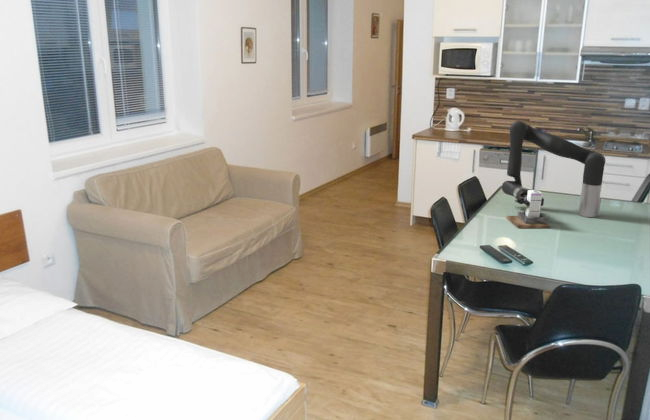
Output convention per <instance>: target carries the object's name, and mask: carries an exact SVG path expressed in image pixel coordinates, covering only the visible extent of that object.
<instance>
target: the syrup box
mask: <svg viewBox="0 0 650 420" xmlns="http://www.w3.org/2000/svg"><path fill="white" fill-rule="evenodd" d="M542 198H543V192H542V191H540V190H538V189H528V193H527V200H528V201H529V202H530V206H527V205H525V211H524V212H525V215H526V216H527V217H540V213H541V207H542V206H541V199H542Z"/></svg>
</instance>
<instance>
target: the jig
mask: <svg viewBox="0 0 650 420" xmlns="http://www.w3.org/2000/svg"><path fill="white" fill-rule="evenodd" d="M506 220H507V221H509V222H510V223H511V224H512V225H514V227H516V228H517V229H550V228H551V225H550V224H549V223H547V221H548V217H547V216H545V214H542V212H540V217H527V216H526V215H525V211H518V212H517V215H506Z"/></svg>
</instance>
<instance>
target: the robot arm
mask: <svg viewBox="0 0 650 420" xmlns="http://www.w3.org/2000/svg"><path fill="white" fill-rule="evenodd" d="M509 141H510V142H509V144H510V145H509V154H508V155H509V156H508V162H507V169H506V170H507V171H506V175H507V176H508V177H511V178H513V179H514V180H505V181H503V183H502V184H501V190H502V192H503V193H504V194H506V195H508V196H511V197H513V198H514V202H515V203H517V204H519V205H525V206H526V205H527V206H530V202H529V201H528V200H527V193H528V190H529V189H528V188H526V187H524V186H523V185H522V177H521V176H522V175H521V170H522V160H523V158H522V157H523V155H522V153H523V144H524V141H526V142H529V143H532V144H534V145H536V146H537V147H538V148H540V149H543V150H544V151H546V152H548V153H550V154H553V155H555V156H556V157H557V156H558V157H560V158H565V159H570V160H571V159H572V160H574V161H577V162H579V163H581V164H582V165H583V166H584V168H583V173H582V176H583V177H582V184H581V192H580V197H579V205H578V210H577V211H578V212H577V214H578V215H579V216H581V217H584V218H585V217H586V218H598V217H600V215H599V214H600V208H601V204H602V203H601V202H602V199H601V192H602V185H603V177H604V170H605V164H606V157H605V156H604V155H603V154H602V153H601V152H598V151H594V150H591V149H587V148H584V147H581V146H579V145H577V144H575V143H574V142H572V141H569V140H567V139H566V138H565V139H564V138H562V137H560V136H558V135H555V134H552V133H549V132H545V131H541V130H538V129H536V128H534V127H533V126H531V125H529V124H527V123H526V122H523V121H519V120H517V121H515V122H513V123H512V124H511V125H510V126H509ZM544 201H545V198H543V197H542V199H541V207H543V206H544Z"/></svg>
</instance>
